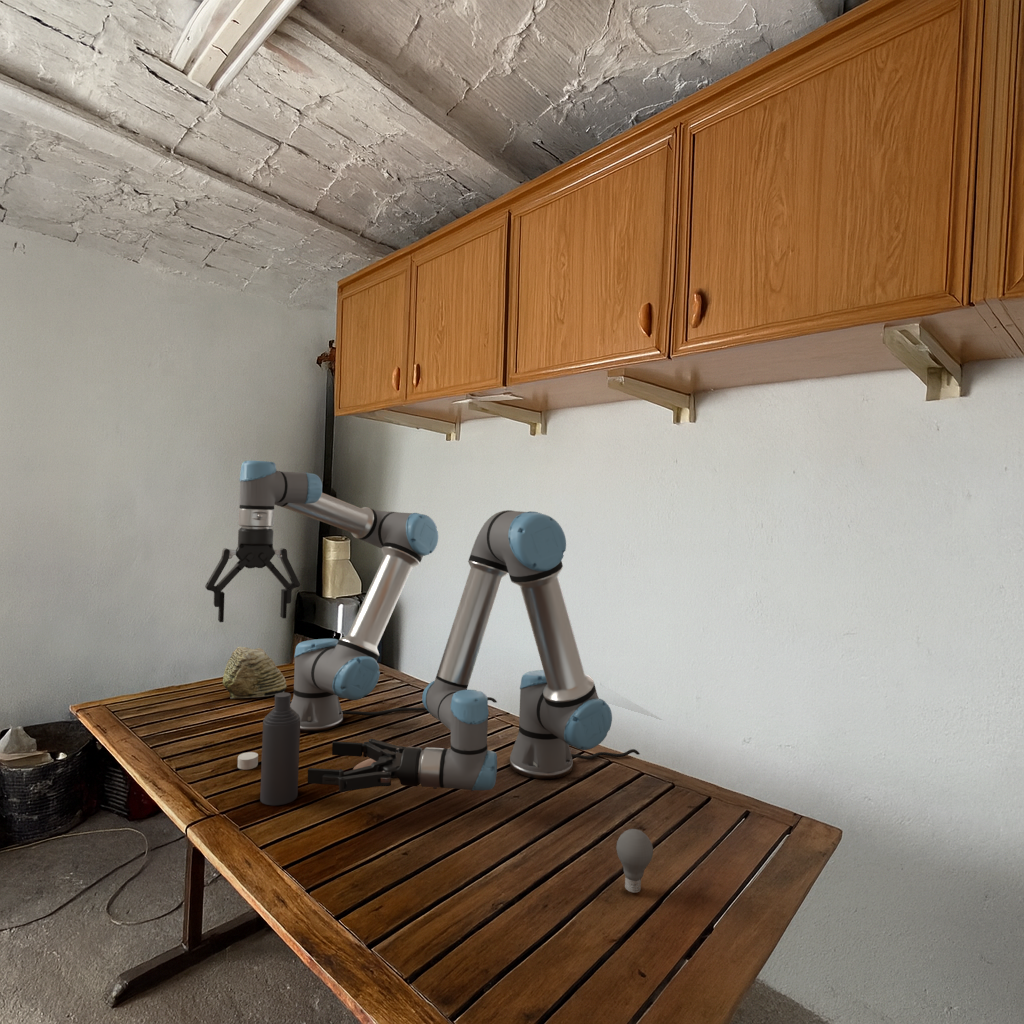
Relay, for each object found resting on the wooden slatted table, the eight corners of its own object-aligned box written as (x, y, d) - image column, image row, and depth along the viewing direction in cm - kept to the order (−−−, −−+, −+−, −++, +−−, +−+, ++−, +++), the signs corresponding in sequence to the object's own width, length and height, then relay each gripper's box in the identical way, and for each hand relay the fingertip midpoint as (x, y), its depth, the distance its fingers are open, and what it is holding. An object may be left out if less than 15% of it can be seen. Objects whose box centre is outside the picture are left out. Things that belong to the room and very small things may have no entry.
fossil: (218, 695, 195) (220, 647, 195) (278, 685, 208) (279, 640, 207) (228, 703, 189) (230, 653, 188) (289, 692, 201) (290, 645, 201)
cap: (253, 760, 150) (253, 750, 150) (260, 766, 147) (261, 756, 147) (234, 765, 147) (234, 755, 147) (241, 771, 144) (242, 761, 144)
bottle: (278, 808, 128) (282, 702, 127) (252, 799, 131) (256, 696, 131) (305, 794, 134) (308, 693, 134) (279, 786, 138) (283, 687, 137)
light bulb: (610, 879, 108) (613, 822, 108) (644, 879, 109) (647, 822, 109) (619, 902, 102) (622, 840, 102) (655, 901, 103) (658, 840, 103)
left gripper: (198, 527, 136) (194, 626, 137) (315, 529, 150) (311, 618, 150) (194, 525, 143) (191, 619, 143) (306, 527, 156) (303, 613, 156)
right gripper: (406, 815, 118) (296, 808, 120) (433, 759, 143) (341, 754, 144) (407, 775, 118) (296, 769, 119) (433, 726, 143) (341, 722, 144)
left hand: (252, 619), depth 147 cm, fingers open, 13 cm apart
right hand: (321, 761), depth 132 cm, fingers open, 13 cm apart
